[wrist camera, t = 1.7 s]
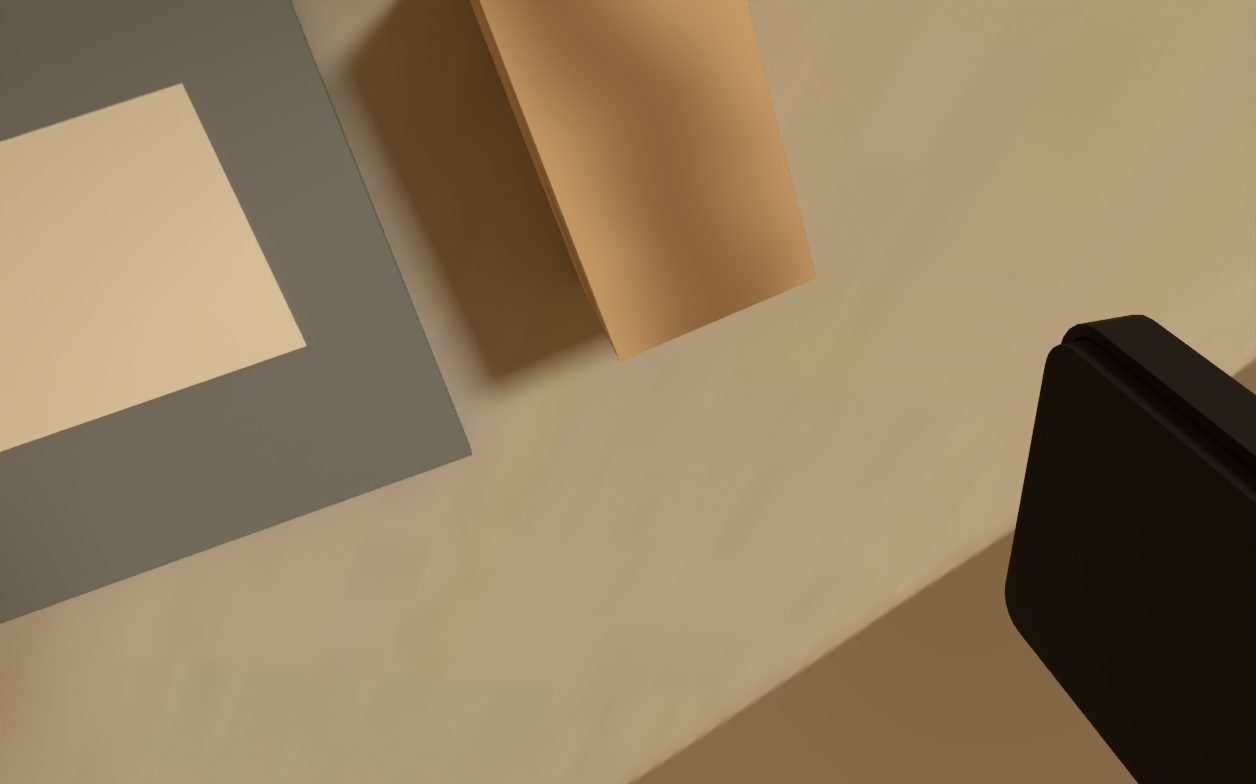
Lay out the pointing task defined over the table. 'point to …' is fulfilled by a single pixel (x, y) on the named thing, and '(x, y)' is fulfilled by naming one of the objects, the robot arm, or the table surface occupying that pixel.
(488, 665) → the table surface
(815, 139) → the table surface
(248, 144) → the mat
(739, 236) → the tan rectangular block
